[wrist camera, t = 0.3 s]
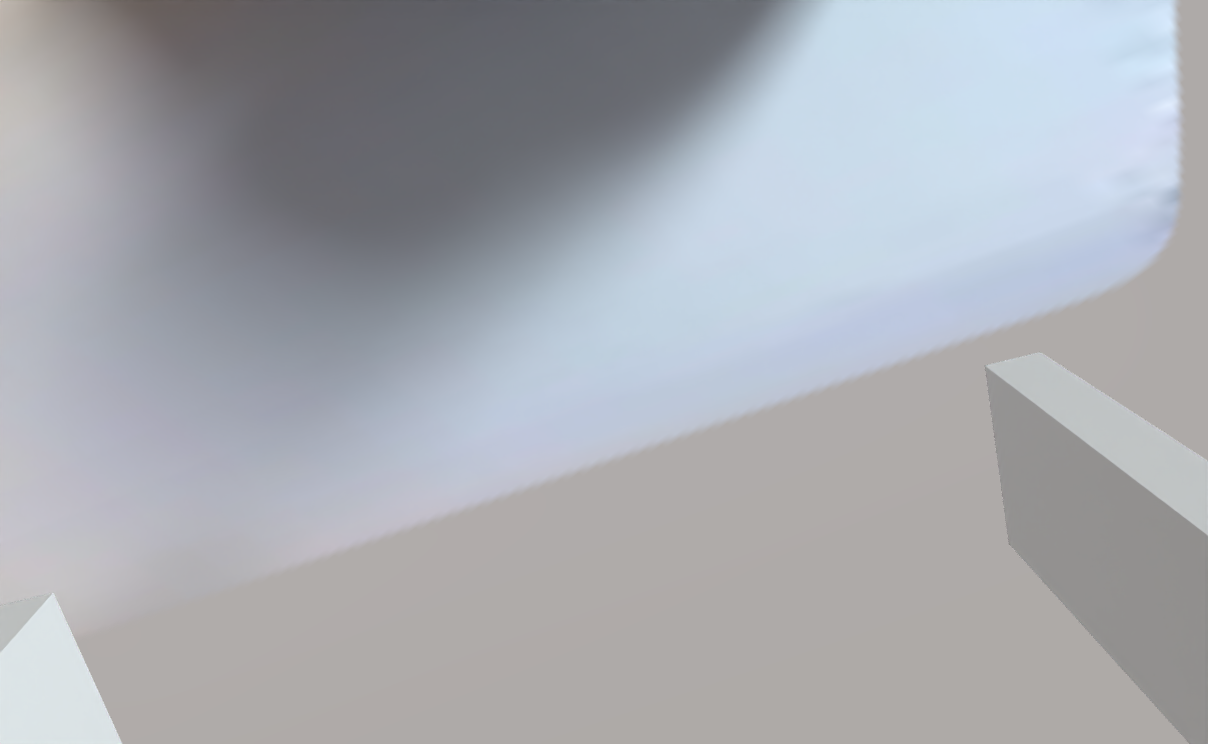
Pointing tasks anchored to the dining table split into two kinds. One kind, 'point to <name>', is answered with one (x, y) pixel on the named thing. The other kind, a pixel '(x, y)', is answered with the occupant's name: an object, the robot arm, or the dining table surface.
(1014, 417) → the robot arm
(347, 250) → the dining table surface
